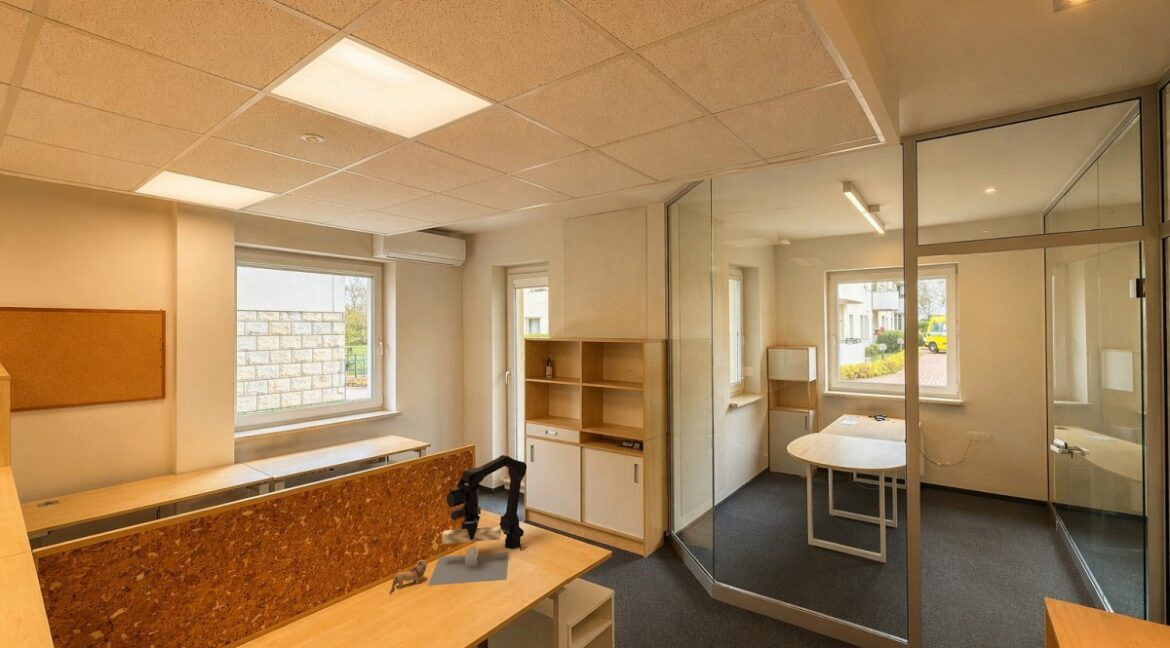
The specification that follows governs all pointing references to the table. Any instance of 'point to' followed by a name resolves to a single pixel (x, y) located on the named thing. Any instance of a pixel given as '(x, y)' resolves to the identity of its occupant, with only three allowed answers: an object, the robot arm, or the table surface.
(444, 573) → the base board
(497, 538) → the beech batten
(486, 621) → the table surface
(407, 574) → the lion figurine
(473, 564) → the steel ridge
